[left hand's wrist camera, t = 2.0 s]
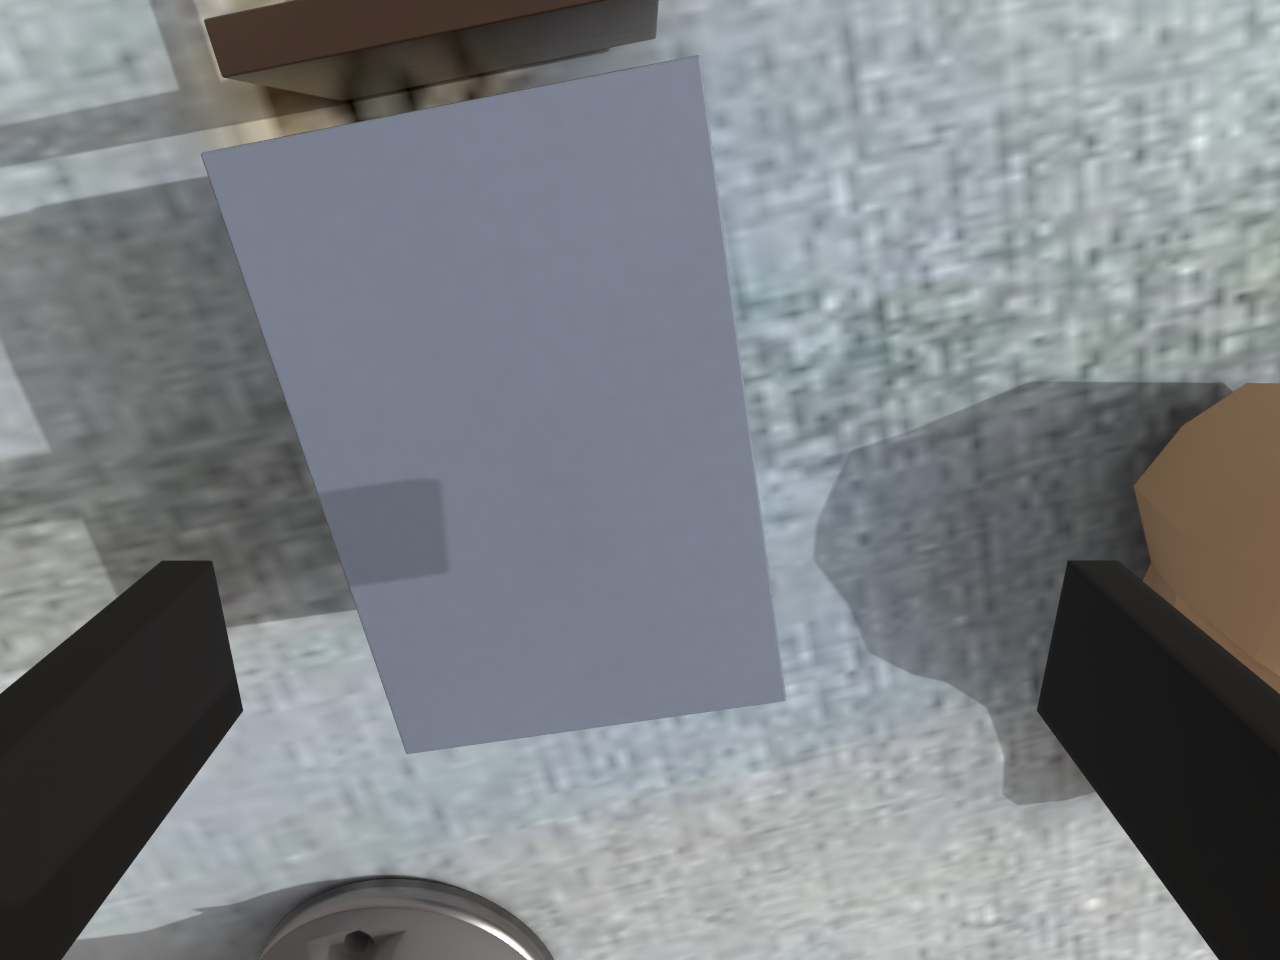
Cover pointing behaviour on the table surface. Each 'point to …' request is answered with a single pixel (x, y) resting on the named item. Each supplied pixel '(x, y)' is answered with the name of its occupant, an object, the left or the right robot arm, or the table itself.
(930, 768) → the table surface
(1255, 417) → the squash
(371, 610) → the cabinet
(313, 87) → the drawer
